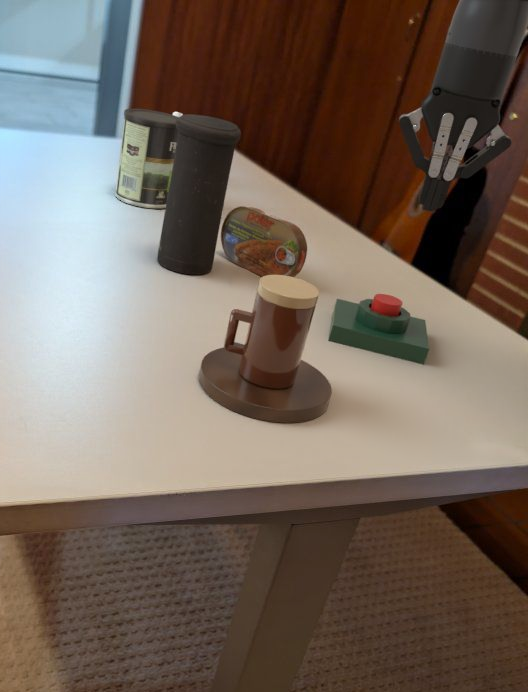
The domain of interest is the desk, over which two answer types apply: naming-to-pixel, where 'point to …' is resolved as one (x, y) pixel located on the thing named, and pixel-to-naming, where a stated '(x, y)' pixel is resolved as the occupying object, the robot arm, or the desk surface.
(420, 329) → the button block
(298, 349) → the mug
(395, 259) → the desk surface
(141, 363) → the desk surface
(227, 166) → the container
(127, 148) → the coffee can
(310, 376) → the turntable
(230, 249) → the tin
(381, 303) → the button
